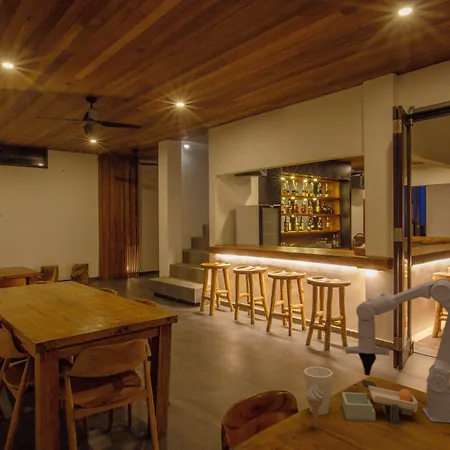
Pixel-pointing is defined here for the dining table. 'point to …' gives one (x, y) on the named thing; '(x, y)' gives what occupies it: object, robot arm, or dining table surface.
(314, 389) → the ice cream cone
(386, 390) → the lever board
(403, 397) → the ball
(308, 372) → the foam cup
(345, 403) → the cup
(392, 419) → the lever stand
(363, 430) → the dining table surface
